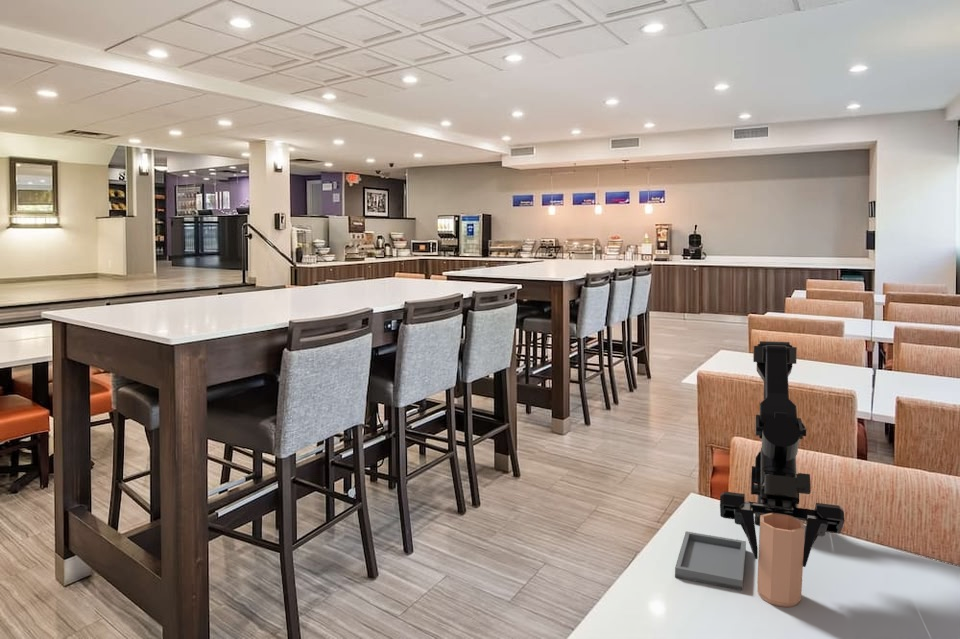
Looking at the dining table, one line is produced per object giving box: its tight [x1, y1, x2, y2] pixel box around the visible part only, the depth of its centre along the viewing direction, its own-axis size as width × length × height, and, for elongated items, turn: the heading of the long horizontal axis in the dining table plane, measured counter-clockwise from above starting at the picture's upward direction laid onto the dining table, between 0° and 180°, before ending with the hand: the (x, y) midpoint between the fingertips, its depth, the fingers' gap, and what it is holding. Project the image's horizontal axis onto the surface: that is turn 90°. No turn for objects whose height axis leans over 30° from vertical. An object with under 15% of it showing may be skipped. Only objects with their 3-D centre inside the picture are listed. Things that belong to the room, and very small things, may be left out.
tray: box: [674, 531, 747, 591], centre depth 112 cm, size 15×11×2 cm
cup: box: [756, 513, 806, 608], centre depth 100 cm, size 6×6×13 cm
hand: (779, 562), depth 99 cm, fingers closed on cup, 7 cm apart
